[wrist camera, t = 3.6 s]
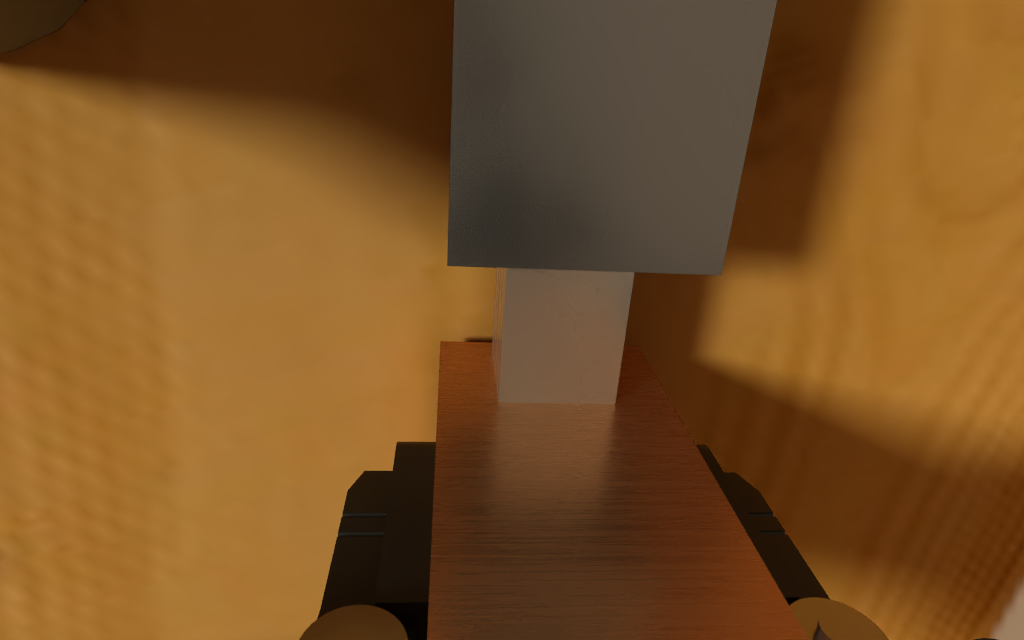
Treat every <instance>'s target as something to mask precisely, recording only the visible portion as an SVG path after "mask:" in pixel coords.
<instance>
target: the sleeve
mask: <svg viewBox="0 0 1024 640" xmlns="http://www.w3.org/2000/svg"><path fill="white" fill-rule="evenodd" d="M776 4H777V0H454V32H453V70H452V108H451V147H450V185H449V223H448V261H447V266H465V267H494V268H523V269H552V270H581V271H609V272H638V273H667V274H696V275H721V274H722V269H723V264H724V259H725V254H726V249H727V244H728V240H729V235H730V230H731V225H732V220H733V215H734V210H735V205H736V200H737V195H738V190H739V186H740V181H741V176H742V171H743V166H744V161H745V156H746V151H747V146H748V141H749V136H750V131H751V127H752V122H753V117H754V112H755V107H756V102H757V97H758V92H759V87H760V82H761V77H762V72H763V68H764V63H765V58H766V53H767V48H768V43H769V38H770V33H771V28H772V23H773V18H774V14H775V9H776Z"/></svg>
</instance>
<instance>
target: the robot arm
mask: <svg viewBox="0 0 1024 640" xmlns="http://www.w3.org/2000/svg"><path fill="white" fill-rule="evenodd" d="M696 447H697V448H698V450H699V452H700V453H701V455H702V457H703V459H704V460H705V462H706V464H707V465H708V467H709V469H710V471H711V472H712V474H713V476H714V477H715V479H716V481H717V483H718V484H719V486H720V488H721V490H722V491H723V493H724V495H725V496H726V498H727V500H728V502H729V503H730V505H731V507H732V508H733V510H734V512H735V514H736V515H737V517H738V519H739V520H740V522H741V524H742V526H743V527H744V529H745V531H746V533H747V534H748V536H749V538H750V539H751V541H752V543H753V545H754V546H755V548H756V550H757V551H758V553H759V555H760V557H761V558H762V560H763V562H764V563H765V565H766V567H767V569H768V570H769V572H770V574H771V576H772V577H773V579H774V581H775V582H776V584H777V586H778V588H779V589H780V591H781V593H782V594H783V596H784V598H785V600H786V601H787V603H788V605H789V606H790V608H791V610H792V612H793V613H794V615H795V617H796V619H797V620H798V622H799V624H800V625H801V627H802V629H803V631H804V632H805V634H806V636H807V637H808V639H809V640H889V639H888V638H887V637H886V635H885V634H884V633H883V631H882V630H881V629H880V628H879V627H878V626H877V625H876V624H875V623H874V622H872V621H871V620H870V619H869V618H867V617H866V616H865V615H863V614H862V613H860V612H859V611H857V610H855V609H854V608H852V607H849V606H847V605H845V604H843V603H840V602H837V601H834V600H830V598H829V597H828V595H827V594H826V592H825V591H824V589H823V588H822V586H821V585H820V583H819V582H818V580H817V579H816V577H815V576H814V574H813V573H812V571H811V570H810V568H809V567H808V565H807V564H806V562H805V560H804V559H803V557H802V556H801V554H800V553H799V551H798V550H797V548H796V547H795V545H794V544H793V542H792V541H791V539H790V538H789V536H788V535H785V532H784V531H785V530H784V529H783V527H782V526H781V524H780V523H779V521H778V520H777V518H776V517H773V512H772V511H771V509H770V507H769V506H768V504H767V503H766V501H765V500H764V498H763V497H762V495H761V494H760V492H759V491H758V490H757V489H755V488H754V487H753V486H752V485H750V484H749V483H748V482H747V481H745V480H744V479H743V478H741V477H740V476H739V475H738V474H736V473H724V472H723V471H722V469H721V467H720V466H719V464H718V462H717V461H716V459H715V457H714V456H713V454H712V453H711V451H710V449H709V448H708V447H707V446H706V445H696ZM435 454H436V442H397V445H396V451H395V459H394V466H393V471H364V472H363V474H362V475H361V476H360V477H359V478H358V479H357V480H356V482H355V483H354V484H353V485H352V486H351V487H350V489H349V490H348V492H347V497H346V501H345V505H344V510H343V517H342V518H341V523H340V527H339V531H338V537H337V540H336V544H335V549H334V553H333V557H332V562H331V566H330V570H329V575H328V579H327V583H326V587H325V592H324V596H323V600H322V605H321V609H320V612H319V615H318V618H317V620H316V621H315V622H313V623H312V624H311V625H310V626H309V627H308V628H307V629H306V630H305V632H304V633H303V635H302V636H301V638H300V639H299V640H427V630H428V608H429V586H430V564H431V542H432V520H433V498H434V476H435ZM975 640H996V639H988V638H981V639H975Z"/></svg>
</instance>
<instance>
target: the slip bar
mask: <svg viewBox="0 0 1024 640" xmlns="http://www.w3.org/2000/svg"><path fill="white" fill-rule="evenodd" d="M634 273H635V272H609V271H581V270H552V269H523V268H497V269H496V287H495V304H494V321H493V338H492V343H488V342H445V341H441V344H440V366H439V388H438V410H437V432H436V454H435V476H434V498H433V520H432V542H431V564H430V586H429V608H428V630H427V640H809V639H808V637H807V636H806V634H805V632H804V631H803V629H802V627H801V625H800V624H799V622H798V620H797V619H796V617H795V615H794V613H793V612H792V610H791V608H790V606H789V605H788V603H787V601H786V600H785V598H784V596H783V594H782V593H781V591H780V589H779V588H778V586H777V584H776V582H775V581H774V579H773V577H772V576H771V574H770V572H769V570H768V569H767V567H766V565H765V563H764V562H763V560H762V558H761V557H760V555H759V553H758V551H757V550H756V548H755V546H754V545H753V543H752V541H751V539H750V538H749V536H748V534H747V533H746V531H745V529H744V527H743V526H742V524H741V522H740V520H739V519H738V517H737V515H736V514H735V512H734V510H733V508H732V507H731V505H730V503H729V502H728V500H727V498H726V496H725V495H724V493H723V491H722V490H721V488H720V486H719V484H718V483H717V481H716V479H715V477H714V476H713V474H712V472H711V471H710V469H709V467H708V465H707V464H706V462H705V460H704V459H703V457H702V455H701V453H700V452H699V450H698V448H697V447H696V445H695V443H694V441H693V440H692V438H691V436H690V434H689V433H688V431H687V429H686V428H685V426H684V424H683V422H682V421H681V419H680V417H679V416H678V414H677V412H676V410H675V409H674V407H673V405H672V404H671V402H670V400H669V398H668V397H667V395H666V393H665V391H664V390H663V388H662V386H661V385H660V383H659V381H658V379H657V378H656V376H655V374H654V373H653V371H652V369H651V367H650V366H649V364H648V362H647V361H646V359H645V357H644V355H643V354H642V352H641V350H640V348H639V347H638V346H624V341H625V334H626V328H627V321H628V314H629V307H630V300H631V294H632V287H633V280H634Z"/></svg>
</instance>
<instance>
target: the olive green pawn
mask: <svg viewBox="0 0 1024 640" xmlns="http://www.w3.org/2000/svg"><path fill="white" fill-rule="evenodd" d="M85 1H86V0H0V52H10V51H12V50H14V49H17V48H19V47H21V46H23V45H25V44H28V43H30V42H32V41H34V40H36V39H39V38H41V37H43V36H45V35H47V34H50V33H52V32H54V31H56V30H58V29H60V28H61V27H62V26H63V25H64V24H65V23H66V21H67V20H68V19H69V18H70V17H71V16H72V15H73V14H74V13H75V12H76V10H77V9H78V8H79V7H80V6H81V5H82V4H83V3H84V2H85Z"/></svg>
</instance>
